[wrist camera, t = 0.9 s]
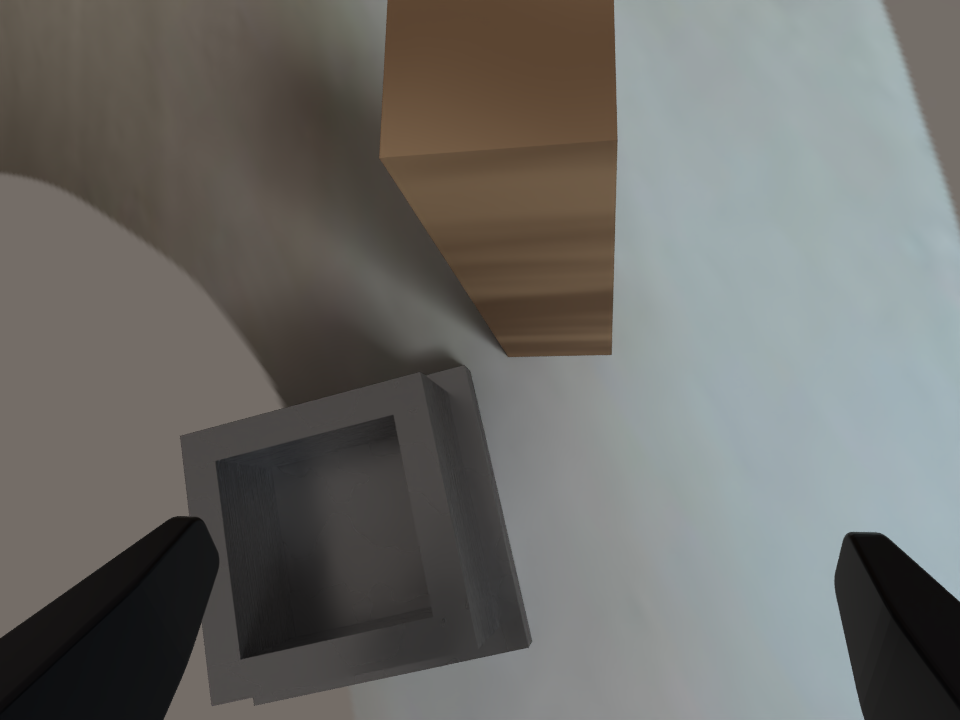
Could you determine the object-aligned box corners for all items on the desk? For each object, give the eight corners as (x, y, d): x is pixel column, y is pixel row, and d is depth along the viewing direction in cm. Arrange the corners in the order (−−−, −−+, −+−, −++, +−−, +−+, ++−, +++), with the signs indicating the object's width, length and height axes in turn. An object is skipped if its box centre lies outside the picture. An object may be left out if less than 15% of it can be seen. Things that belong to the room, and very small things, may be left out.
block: (611, 354, 23) (617, 139, 10) (508, 357, 24) (379, 157, 10) (609, 256, 24) (611, -71, 10) (509, 261, 24) (389, -42, 11)
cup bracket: (532, 641, 22) (513, 673, 17) (269, 697, 23) (189, 741, 18) (470, 370, 24) (439, 339, 20) (233, 433, 25) (154, 417, 21)
